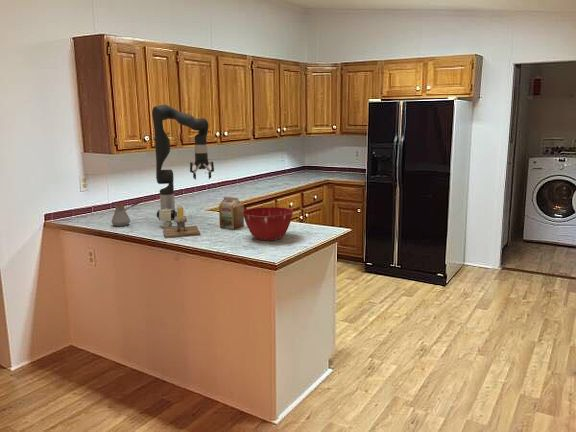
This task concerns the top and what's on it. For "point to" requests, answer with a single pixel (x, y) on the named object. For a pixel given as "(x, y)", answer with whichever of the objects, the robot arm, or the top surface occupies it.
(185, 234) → the board
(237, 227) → the milk carton
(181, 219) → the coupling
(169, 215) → the pneumatic valve
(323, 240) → the top surface
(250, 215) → the mixing bowl
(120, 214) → the coffee pot
